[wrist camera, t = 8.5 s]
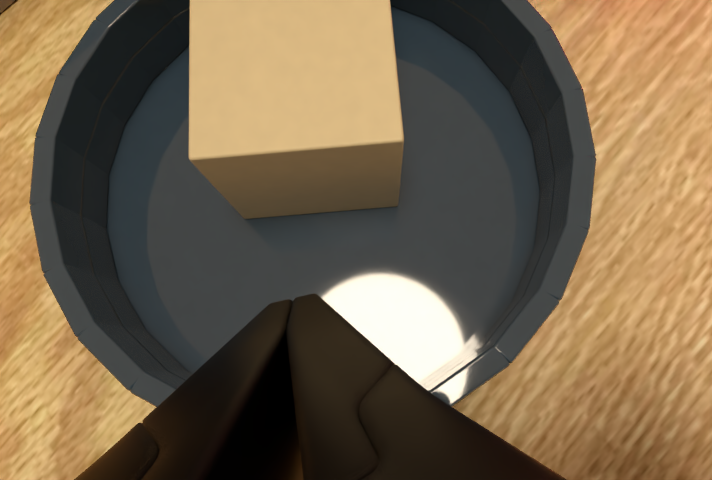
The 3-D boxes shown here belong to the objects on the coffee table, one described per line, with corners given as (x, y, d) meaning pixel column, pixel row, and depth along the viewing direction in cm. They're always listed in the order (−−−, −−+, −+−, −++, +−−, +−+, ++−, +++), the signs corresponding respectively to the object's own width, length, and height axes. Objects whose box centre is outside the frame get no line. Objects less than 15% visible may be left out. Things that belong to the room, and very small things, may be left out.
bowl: (590, 410, 15) (648, 422, 12) (86, 445, 16) (6, 466, 13) (516, -25, 19) (545, -110, 16) (108, 14, 20) (50, -60, 16)
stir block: (404, 140, 12) (377, -124, 14) (187, 159, 12) (189, -104, 14) (398, 206, 17) (379, 5, 19) (243, 219, 17) (239, 18, 19)
